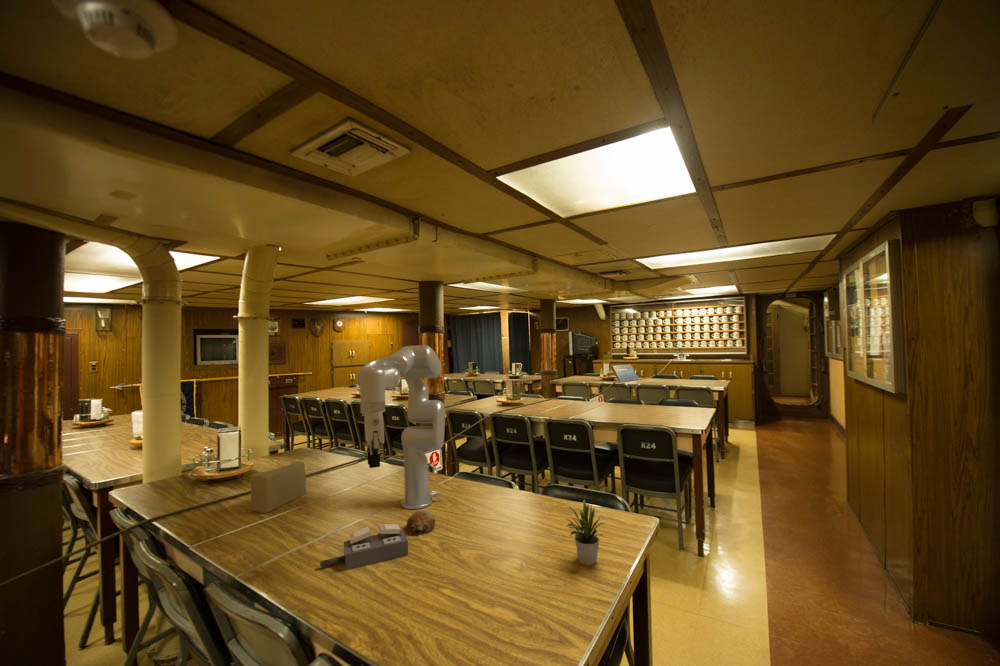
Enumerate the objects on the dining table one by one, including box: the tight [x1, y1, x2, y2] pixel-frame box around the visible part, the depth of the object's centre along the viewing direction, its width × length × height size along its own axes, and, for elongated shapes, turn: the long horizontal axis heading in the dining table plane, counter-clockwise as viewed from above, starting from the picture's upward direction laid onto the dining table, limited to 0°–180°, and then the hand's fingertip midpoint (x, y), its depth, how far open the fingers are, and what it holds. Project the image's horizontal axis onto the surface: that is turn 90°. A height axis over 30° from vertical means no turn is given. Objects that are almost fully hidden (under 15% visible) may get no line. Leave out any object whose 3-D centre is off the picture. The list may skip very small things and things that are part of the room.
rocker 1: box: [348, 526, 372, 544], centre depth 124 cm, size 6×4×2 cm, turn 115°
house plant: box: [562, 499, 606, 566], centre depth 119 cm, size 14×14×16 cm
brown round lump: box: [406, 509, 436, 536], centre depth 142 cm, size 10×10×8 cm
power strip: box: [319, 528, 409, 571], centre depth 122 cm, size 25×9×5 cm, turn 115°
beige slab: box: [250, 461, 307, 514], centre depth 171 cm, size 22×10×15 cm, turn 155°
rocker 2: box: [378, 523, 401, 534], centre depth 128 cm, size 6×4×2 cm, turn 114°
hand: (373, 465), depth 127 cm, fingers open, 3 cm apart
